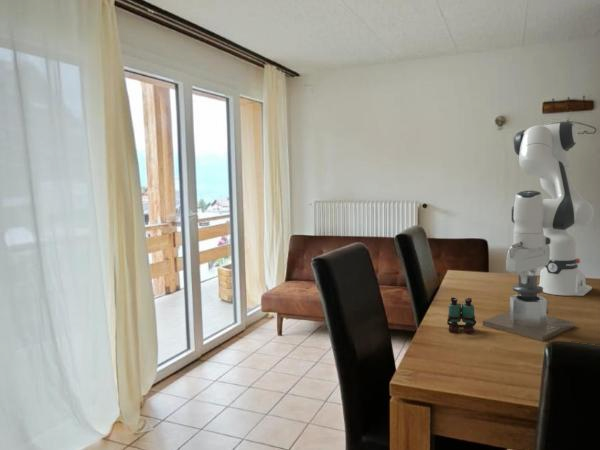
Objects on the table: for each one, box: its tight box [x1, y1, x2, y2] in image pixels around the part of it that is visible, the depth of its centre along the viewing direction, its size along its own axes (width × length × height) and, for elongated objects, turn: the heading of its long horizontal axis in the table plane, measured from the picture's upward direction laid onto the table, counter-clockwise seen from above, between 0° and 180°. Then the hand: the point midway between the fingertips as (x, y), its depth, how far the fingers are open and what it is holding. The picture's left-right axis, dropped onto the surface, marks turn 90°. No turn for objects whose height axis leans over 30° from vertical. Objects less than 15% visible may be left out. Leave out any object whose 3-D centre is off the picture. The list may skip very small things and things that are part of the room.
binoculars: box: [446, 297, 477, 335], centre depth 146 cm, size 9×11×10 cm
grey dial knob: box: [512, 273, 544, 298], centre depth 147 cm, size 9×9×7 cm
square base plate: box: [482, 293, 576, 342], centre depth 148 cm, size 20×20×10 cm
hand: (527, 282), depth 147 cm, fingers closed on grey dial knob, 2 cm apart
